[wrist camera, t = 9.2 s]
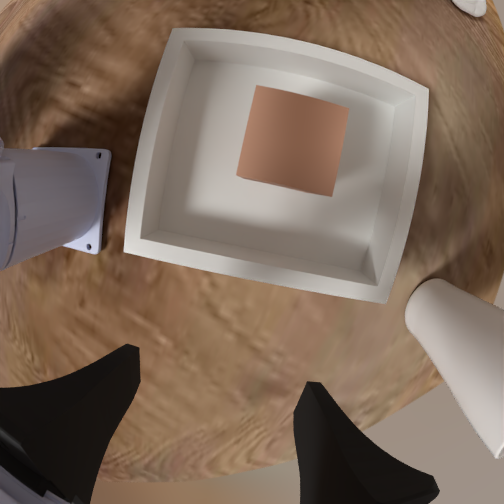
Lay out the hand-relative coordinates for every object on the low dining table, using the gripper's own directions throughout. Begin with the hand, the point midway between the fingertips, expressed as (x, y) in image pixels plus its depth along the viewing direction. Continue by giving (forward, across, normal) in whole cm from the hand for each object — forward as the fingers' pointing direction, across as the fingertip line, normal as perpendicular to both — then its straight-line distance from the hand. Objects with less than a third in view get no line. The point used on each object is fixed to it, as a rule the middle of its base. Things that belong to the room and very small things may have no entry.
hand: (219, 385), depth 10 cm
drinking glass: (+10, -16, -2) cm, 19 cm away
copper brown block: (+8, -1, -10) cm, 13 cm away
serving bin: (+9, -1, -10) cm, 14 cm away
